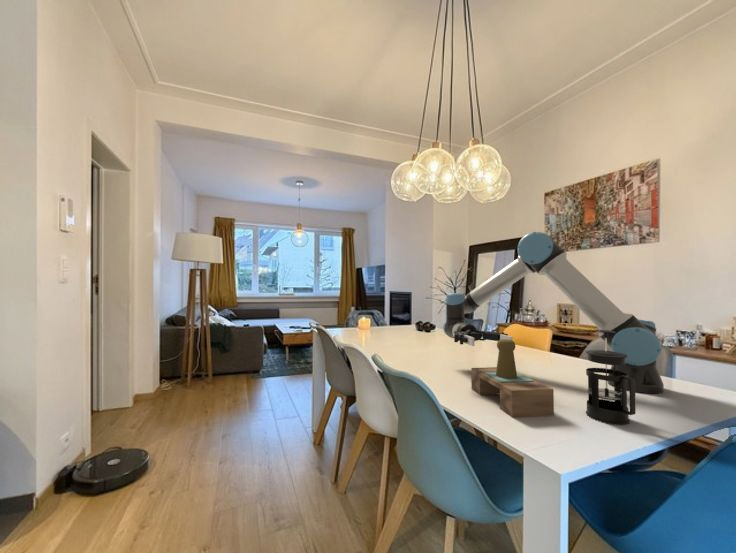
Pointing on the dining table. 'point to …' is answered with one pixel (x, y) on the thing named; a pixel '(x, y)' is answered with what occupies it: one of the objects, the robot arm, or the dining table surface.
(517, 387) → the wooden block
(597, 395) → the french press
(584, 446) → the dining table surface
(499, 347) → the cork
